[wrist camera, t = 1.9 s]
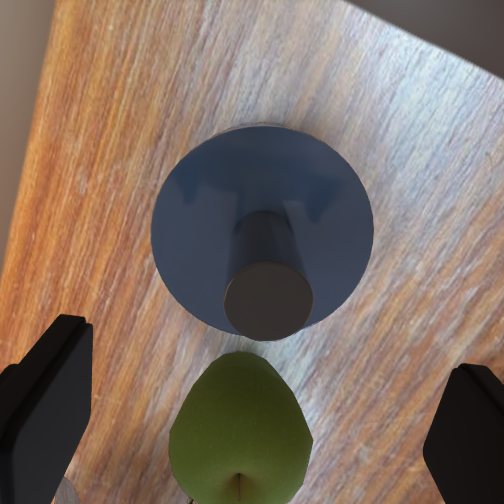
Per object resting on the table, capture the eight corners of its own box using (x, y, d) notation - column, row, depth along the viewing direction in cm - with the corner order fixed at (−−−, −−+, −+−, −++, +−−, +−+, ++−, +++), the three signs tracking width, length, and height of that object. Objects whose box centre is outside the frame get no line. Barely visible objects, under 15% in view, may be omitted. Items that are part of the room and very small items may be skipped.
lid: (330, 87, 20) (379, 85, 12) (391, 287, 23) (455, 376, 16) (117, 174, 21) (49, 218, 14) (206, 350, 25) (190, 459, 17)
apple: (316, 349, 33) (351, 476, 22) (264, 425, 35) (272, 572, 25) (216, 302, 31) (200, 414, 20) (168, 385, 34) (132, 524, 23)
